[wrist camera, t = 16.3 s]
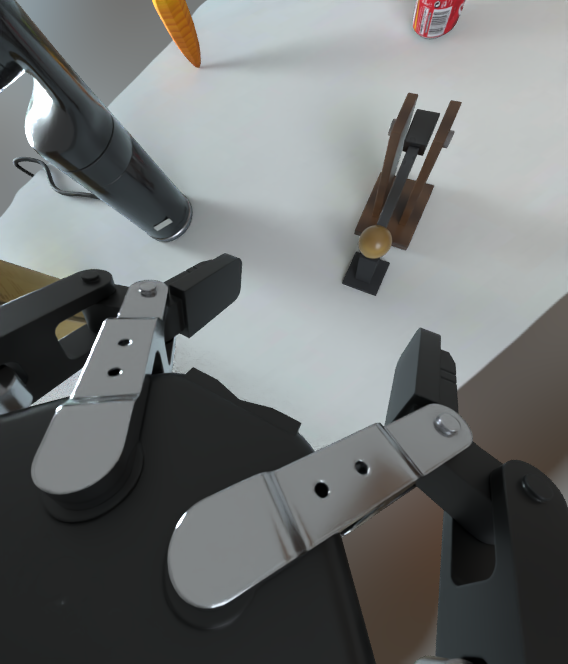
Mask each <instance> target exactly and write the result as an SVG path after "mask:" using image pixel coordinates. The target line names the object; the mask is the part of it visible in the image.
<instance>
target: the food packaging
mask: <svg viewBox="0 0 568 664" xmlns="http://www.w3.org/2000/svg"><path fill="white" fill-rule="evenodd" d="M59 280H61V279H59V278H55V277H52V276H49V275H46V274H43V273H40V272H37V271H34V270H31V269H28V268H24V267H21V266H18V265H15V264H12V263H9V262H6V261H3V260H0V306H1V305H3V304H5V303H8V302H10V301H12V300H15V299H17V298H19V297H22V296H24V295H26V294H29V293H31V292H33V291H35V290H38V289H40V288H42V287H45V286H47V285H49V284H52V283H54V282H56V281H59ZM85 324H87V322H86V320H85V318H84V315H83V313H82V311H81V312H79V313H77V314H76V315H74V316H72V317H70V318H68V319H66V320H65V321H63V322H61V323H60V324H59V325H58V326H57V328H56V331H55V334H56V337H57V338H58V340H60V339H61V338H63V337H65V336H66V335H68V334H70V333H71V332H73V331H75V330H76V329H78V328H80V327H81V326H83V325H85Z"/></svg>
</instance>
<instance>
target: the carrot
mask: <svg viewBox="0 0 568 664" xmlns="http://www.w3.org/2000/svg"><path fill="white" fill-rule="evenodd" d="M152 2H153V4H154V6H155V8H156V10H157V12H158V14H159V16H160V18H161V20H162V22H163V23H164V25H165V27H166V29H167V31H168V32H169V34H170V36H171V37H172V39H173V40H174V42H175V43H176V45H177V46H178V48H179V49H180V50H181V52H182V53H183V54H184V56H185V57H186V58H187V59H188V60H189V61H190V62H191V63H192V64H193V65H194V66H195V67H197V68H200V64H201V58H200V47H199V42H198V38H197V34H196V30H195V26H194V23H193V20H192V17H191V15H190V12H189V9H188V7H187V4H186V1H185V0H152Z"/></svg>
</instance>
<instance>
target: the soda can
mask: <svg viewBox="0 0 568 664" xmlns="http://www.w3.org/2000/svg"><path fill="white" fill-rule="evenodd" d="M464 3H465V0H416V4H415V9H414V16H413V28H414V30H415V32H416V33H417V34H419V35H420V36H421V37H423V38H427V39H434V38H437V37H440V36H442V35H444V34H446V33H447V32H449V31H450V30H451V29H452V28H453V27H454V26H455V24H456V23H457V20H458V18H459V16H460V13H461V11H462V9H463V6H464Z"/></svg>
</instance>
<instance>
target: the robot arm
mask: <svg viewBox="0 0 568 664" xmlns="http://www.w3.org/2000/svg"><path fill="white" fill-rule="evenodd" d="M25 72H27V73H29V74H30V75H32V76H33V77H34V89H33V94H32V97H31V100H30V104H29V107H28V110H27V113H26V119H25V131H26V136H27V139H28V141H29V143H30V145H31V146H32V148H33V149H34V150H35V151H36V152H37V153H38V154H39V155H40V156H42V157H43V158H44V159H46V160H47V161H48V162H50V163H51V164H52V165H54V166H55V167H57V168H58V169H59V170H61V171H62V172H64V173H65V174H66V175H68V176H69V177H70V178H72V179H73V180H75V181H76V182H77V183H79V184H80V185H82V186H83V187H84V188H86V189H87V190H88V191H90V192H91V193H93V194H90V193H84V192H66V191H62V190H60V189H58V188H57V187H56V186H55V184H54V182H53V180H52V176H51V173H50V170H49V168H48V166H47V165H46V164H45V163H44V162H42V161H40V160H38V159H34V158H30V157H19V158H15V159H14V160H13V164H14V165H15V166H16V167H17V168H18V169H20V170H21V171H23V172H24V173H26V174H28V175H29V176H31V177H32V178H33V177H34V174H32V173H31V172H29V171H27V170H25V169H24V168H22V167H21V166H20V165H19V164H18V162H21V161H30V162H36V163H39V164H41V165H42V166H43V167H44V169H45V171H46V175H47V178H48V181H49V184H50V185H51V187H52V188H53V189H54V190H55V191H56V192H58V193H60V194H62V195H67V196H83V197H90V198H96V199H101V200H102V201H104V202H105V203H106V204H108V205H109V206H111V207H112V208H113V209H115V210H116V211H117V212H119V213H120V214H122V215H123V216H124V217H126V218H127V219H128V220H130V221H131V222H133V223H134V224H135V225H137V226H138V227H139V228H141V229H142V230H143V231H145V232H146V233H147V234H148V235H149V236H151V237H152V238H154V239H155V240H157V241H162V242H167V241H172V240H174V239H176V238H178V237H180V236H181V235H182V234H183V233H184V232H185V231H186V230H187V228H188V226H189V225H190V222H191V219H192V207H191V204H190V202H189V201H188V199H187V198H186V197H185V196H184V195H183V194H182V193H181V192H180V191H179V190H178V189H177V188H176V186H175V185H174V184H173V183H172V182H171V180H170V179H169V178H168V177H167V176H166V175H165V174H164V172H163V171H162V170H161V169H160V168H159V167H158V166H157V164H156V163H155V162H154V161H153V160H152V159H151V158H150V156H149V155H148V154H147V153H146V152H145V151H144V150H143V148H142V147H141V146H140V145H139V144H138V143H137V142H136V140H135V139H134V138H133V137H132V136H131V135H130V134H129V132H128V131H127V130H126V129H125V128H124V127H123V126H122V125H121V123H120V122H119V121H118V120H117V119H116V118H115V117H114V115H113V114H112V113H111V112H110V111H109V110H108V109H107V107H106V106H105V105H104V104H103V103H102V102H101V101H100V100H99V99H98V97H97V96H95V94H94V93H93V92H92V91H91V89H90V88H89V87H88V86H87V85H86V84H85V83H84V81H83V80H82V79H81V78H80V77H79V76H78V74H77V73H76V72H75V71H74V70H73V69H72V68H71V66H70V65H69V64H68V63H67V62H66V61H65V59H64V58H63V57H62V56H61V55H60V54H59V53H58V51H57V50H56V49H55V48H54V47H53V45H52V44H51V43H50V42H49V41H48V40H47V38H46V37H45V36H44V34H43V33H42V32H41V31H40V30H39V28H38V27H37V26H36V25H35V24H34V23H33V21H32V20H31V19H30V17H29V16H28V15H27V14H26V13H25V11H24V10H23V9H22V8H21V6H20V5H19V4H18V3H17V1H16V0H0V93H1V92H2V91H3V90H5V89H6V88H7V87H8V86H9V85H10V84H11V83H13V82H14V81H15V80H16V79H18V78H19V77H20V76H21V75H22V74H23V73H25ZM241 273H242V261H241V259H240V258H237V257H234V256H232V255H229V254H226V253H224V254H222V255H220V256H218V257H217V258H215V259H213V260H208V261H203V262H200V263H198V264H197V265H195V266H193V268H192V267H191V268H189V269H187V270H186V271H184V272H182V273H180V274H178V275H177V276H175V277H173V278H171V279H169V280H167V281H166V282H164V283H163V282H160V281H156V280H144V281H139V282H136V283H134V284H132V285H131V286H130V287H127V286H121V285H116V284H114V281H113V278H112V275H111V274H110V273H109V272H107V271H104V270H99V269H91V270H84V271H80V272H78V273H75V274H73V275H70V276H68V277H66V278H63V279H61V280H59V281H56V282H54V283H52V284H49V285H47V286H45V287H42V288H40V289H38V290H35V291H33V292H31V293H29V294H26V295H24V296H22V297H19V298H17V299H15V300H12V301H10V302H8V303H5V304H3V305H1V306H0V664H376V662H375V659H374V655H373V651H372V648H371V644H370V640H369V637H368V633H367V629H366V626H365V622H364V618H363V615H362V611H361V608H360V604H359V600H358V597H357V593H356V589H355V586H354V582H353V578H352V575H351V571H350V568H349V564H348V560H347V557H346V553H345V549H344V545H343V542H342V538H343V537H344V536H346V535H347V534H349V533H350V532H352V531H353V530H355V529H356V528H358V527H359V526H361V525H362V524H363V523H365V522H366V521H367V520H369V519H370V518H372V517H373V516H374V515H376V514H377V513H379V512H380V511H382V510H383V509H384V508H386V507H387V506H389V505H390V504H392V503H393V502H395V501H396V500H398V499H399V498H401V497H402V496H404V495H405V494H406V493H408V492H410V491H411V490H412V489H414V488H415V487H418V488H420V489H421V490H422V491H423V492H424V493H425V494H426V495H427V496H429V497H430V498H431V499H432V500H433V501H434V502H435V503H436V504H438V505H439V506H440V507H441V508H442V509H443V510H444V516H443V533H442V551H441V568H440V569H441V570H440V586H439V603H438V621H437V639H436V656H424V657H422V658H419V659H418V660H417V661H416V662H415V663H414V664H568V507H567V504H566V501H565V499H564V497H563V495H562V494H561V492H560V490H559V489H558V488H557V487H556V485H555V484H554V483H553V482H552V481H551V480H550V479H549V478H548V477H547V476H546V475H545V474H544V473H542V472H541V471H540V470H538V469H537V468H535V467H534V466H532V465H530V464H528V463H526V462H523V461H520V460H510V461H508V462H506V463H504V464H502V463H501V462H499V461H498V460H497V459H495V458H494V457H493V456H491V455H490V454H488V453H487V452H486V451H484V450H483V449H481V448H480V447H479V446H478V445H476V444H475V443H474V442H473V441H472V439H473V438H472V432H471V430H470V428H469V426H468V424H467V423H466V421H465V420H464V419H463V418H462V417H461V416H460V415H459V414H458V400H457V399H458V398H457V385H456V383H457V381H456V376H455V375H456V365H455V362H454V360H453V359H452V357H451V355H450V353H449V352H446V351H444V350H441V336H440V335H439V334H436V333H434V332H431V331H428V330H426V329H423V328H419V329H418V330H417V331H416V333H415V334H414V336H413V338H412V339H411V341H410V342H409V344H408V345H407V347H406V349H405V350H404V352H403V353H402V355H401V357H400V359H399V361H398V363H397V366H396V369H395V374H394V379H393V384H392V390H391V395H390V400H389V405H388V410H387V416H386V421H385V426H382V424H381V423H375V424H372V425H370V426H368V427H366V428H364V429H362V430H360V431H358V432H355V433H353V434H351V435H349V436H347V437H345V438H343V439H341V440H339V441H336V442H334V443H332V444H330V445H328V446H326V447H324V448H322V449H320V450H317V451H314V450H313V448H312V447H311V446H310V444H309V443H308V442H307V441H306V440H305V438H304V437H303V436H302V435H300V434H299V433H298V431H299V428H300V426H301V423H300V422H298V421H297V420H295V419H293V418H291V417H289V416H287V415H285V414H283V413H281V412H279V411H277V410H275V409H273V408H270V407H266V406H262V405H258V404H254V403H250V402H246V401H242V400H240V399H238V398H237V397H236V396H235V395H234V394H233V393H231V392H230V391H229V390H228V389H227V388H226V387H225V386H224V385H223V384H221V383H220V382H219V381H218V380H217V379H215V378H213V377H211V376H209V375H207V374H205V373H203V372H201V371H199V370H197V369H195V368H192V369H190V370H189V371H188V372H187V373H186V374H180V373H172V368H173V361H174V353H175V345H176V338H175V336H176V335H178V334H179V333H180V334H182V335H184V336H186V337H188V338H190V337H191V336H193V335H194V334H195V333H196V332H198V331H199V330H200V329H201V328H202V327H204V326H205V325H206V324H207V323H208V322H210V321H211V320H212V319H213V318H215V317H216V316H217V315H218V314H219V313H221V312H222V311H223V310H224V309H225V308H227V307H228V306H229V305H230V304H232V303H233V302H234V301H235V300H236V299H237V297H238V296H239V293H240V289H241ZM81 311H82V313H83V315H84V318H85V320H86V322H87V324H85V325H83V326H81V327H80V328H78V329H76V330H75V331H73V332H71V333H70V334H68V335H66V336H65V337H63V338H61V339H60V340H58V338H57V337H56V334H55V331H56V328H57V326H58V325H59V324H60V323H61V322H63V321H65V320H66V319H68V318H70V317H72V316H74V315H76V314H77V313H79V312H81ZM83 367H84V369H83V371H82V373H81V375H80V378H79V380H78V382H77V385H76V387H75V389H74V391H73V394H72V396H69V397H65V398H62V399H58V400H54V401H50V402H46V403H42V404H39V405H35V406H31V407H29V406H30V405H32V404H33V403H34V402H36V401H37V400H38V399H40V398H41V397H43V396H44V395H45V394H47V393H48V392H50V391H51V390H52V389H54V388H55V387H57V386H58V385H59V384H61V383H62V382H63V381H65V380H66V379H68V378H69V377H70V376H72V375H73V374H75V373H76V372H77V371H79V370H80V369H82V368H83Z"/></svg>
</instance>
